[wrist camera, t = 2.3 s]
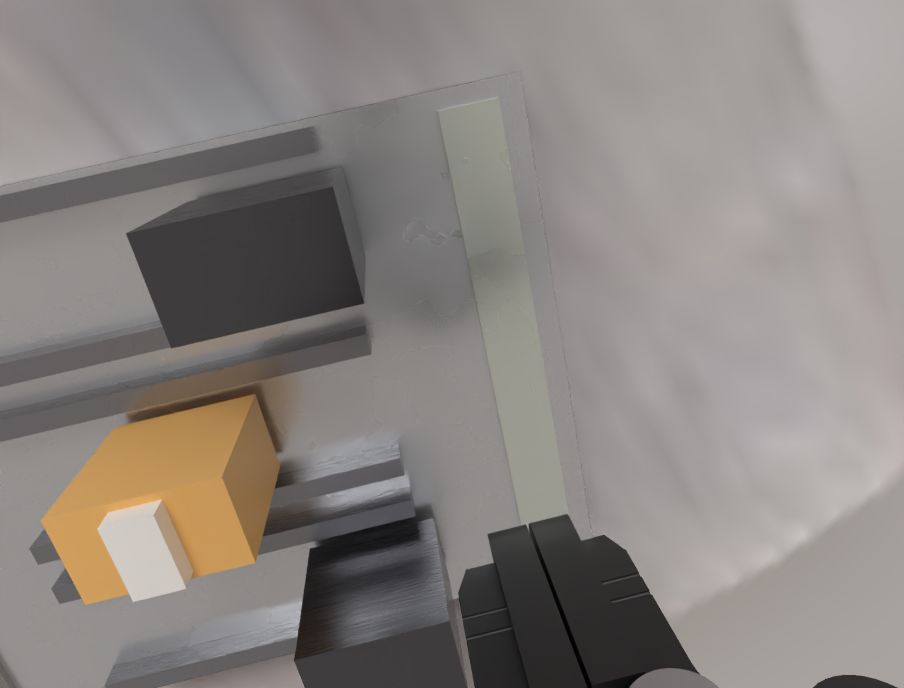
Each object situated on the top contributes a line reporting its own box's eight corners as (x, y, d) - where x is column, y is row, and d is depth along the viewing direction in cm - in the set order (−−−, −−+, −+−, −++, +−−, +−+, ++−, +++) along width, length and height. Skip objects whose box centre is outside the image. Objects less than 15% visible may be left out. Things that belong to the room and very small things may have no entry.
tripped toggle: (114, 426, 18) (26, 537, 13) (255, 394, 18) (215, 492, 14) (146, 497, 19) (74, 624, 14) (280, 465, 19) (251, 580, 15)
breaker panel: (-278, 248, 18) (-643, 327, 11) (505, 74, 18) (575, 58, 12) (-9, 674, 23) (-150, 886, 17) (578, 528, 24) (652, 677, 18)
